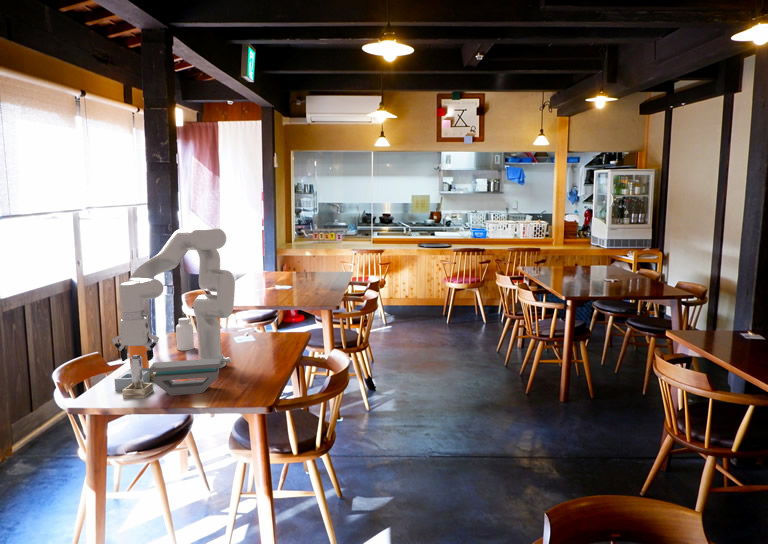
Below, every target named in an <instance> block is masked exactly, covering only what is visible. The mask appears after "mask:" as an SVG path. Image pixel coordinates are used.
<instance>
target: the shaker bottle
mask: <svg viewBox="0 0 768 544" xmlns="http://www.w3.org/2000/svg"><path fill="white" fill-rule="evenodd" d="M147 350H148V349H147V348H146V347H145V346H127V352H128V358H129V365H130V368H131V360H130V358H132V356H133V355H140V357H142V365H143V368H150V361H148V360H147Z"/></svg>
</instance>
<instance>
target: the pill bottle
mask: <svg viewBox="0 0 768 544" xmlns="http://www.w3.org/2000/svg"><path fill="white" fill-rule="evenodd" d="M177 321H178V324H177V325H176V326H175V335H176V336H175V338H176V350H177V351H183V352H184V351H191V350H193V349H194V348H195V341H194V340H195V338H194V336H195V335H194V326H193V324H192V323H191V318H190V317H180V318H178V320H177Z"/></svg>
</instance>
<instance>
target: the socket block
mask: <svg viewBox="0 0 768 544" xmlns="http://www.w3.org/2000/svg"><path fill="white" fill-rule="evenodd" d="M149 368H150V367H149ZM149 368H143V380H144V383H148V382H149V381H150V374H149V373H154V372H150V370H149ZM150 382H151V381H150ZM150 382H149V383H150ZM130 384H132V375H131V368H129V369H128V370H126V371H124V372H123V373H121V374H119V376H117V377H115V378H114V390H115V391H122V390H123V389H124V388H126V387H127V386H129V385H130Z"/></svg>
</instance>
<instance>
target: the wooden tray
mask: <svg viewBox="0 0 768 544" xmlns="http://www.w3.org/2000/svg"><path fill="white" fill-rule="evenodd" d="M121 391H122V398H124V399H127V398H128V399H129V398H130V399H135V398H136V399H137V398H138V399H139V398H140V399H143V398H144V399H145V398H146V397H147V396H149V395H150V394H151V393H152V392H154V382H149V383H144V389H132V384H130V385H129V386H127V387H126V388H124V389H123V390H121ZM149 393H150V394H149Z"/></svg>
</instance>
